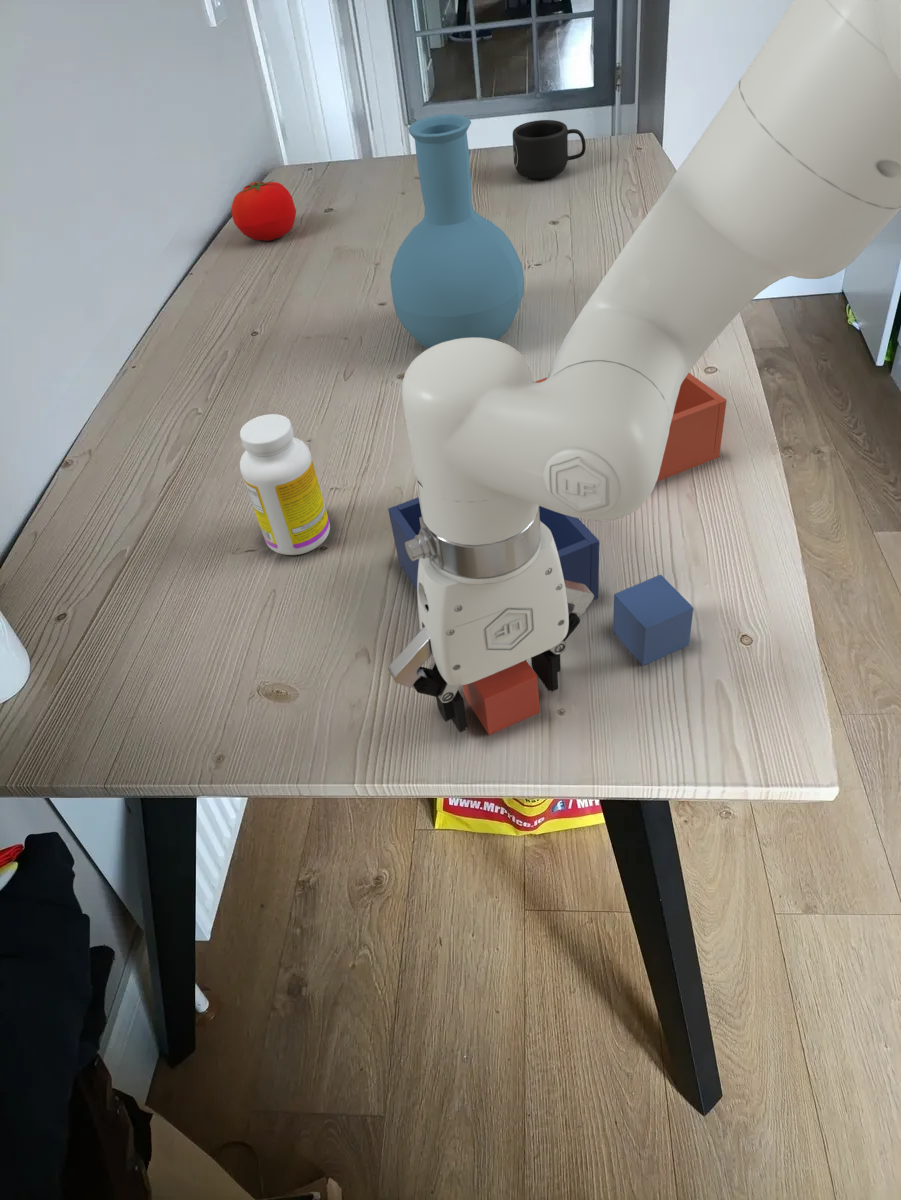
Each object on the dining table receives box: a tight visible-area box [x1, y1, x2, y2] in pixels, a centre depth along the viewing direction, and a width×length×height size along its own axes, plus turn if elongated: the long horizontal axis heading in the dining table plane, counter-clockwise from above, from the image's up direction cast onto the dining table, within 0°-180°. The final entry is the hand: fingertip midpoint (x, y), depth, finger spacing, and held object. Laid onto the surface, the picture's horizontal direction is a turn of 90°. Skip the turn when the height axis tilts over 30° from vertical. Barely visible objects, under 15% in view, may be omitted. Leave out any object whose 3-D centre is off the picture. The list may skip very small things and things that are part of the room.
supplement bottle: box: [239, 413, 331, 556], centre depth 83 cm, size 7×7×13 cm
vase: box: [389, 113, 525, 349], centre depth 104 cm, size 16×16×25 cm
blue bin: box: [387, 496, 600, 602], centre depth 78 cm, size 14×14×7 cm
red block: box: [462, 660, 540, 736], centre depth 69 cm, size 4×4×4 cm
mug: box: [512, 119, 587, 181], centre depth 146 cm, size 12×9×7 cm
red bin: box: [534, 372, 727, 483], centre depth 90 cm, size 14×14×7 cm
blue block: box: [612, 574, 694, 667], centre depth 72 cm, size 4×4×4 cm
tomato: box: [231, 179, 297, 242], centre depth 140 cm, size 9×10×8 cm
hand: (500, 697), depth 70 cm, fingers open, 7 cm apart
